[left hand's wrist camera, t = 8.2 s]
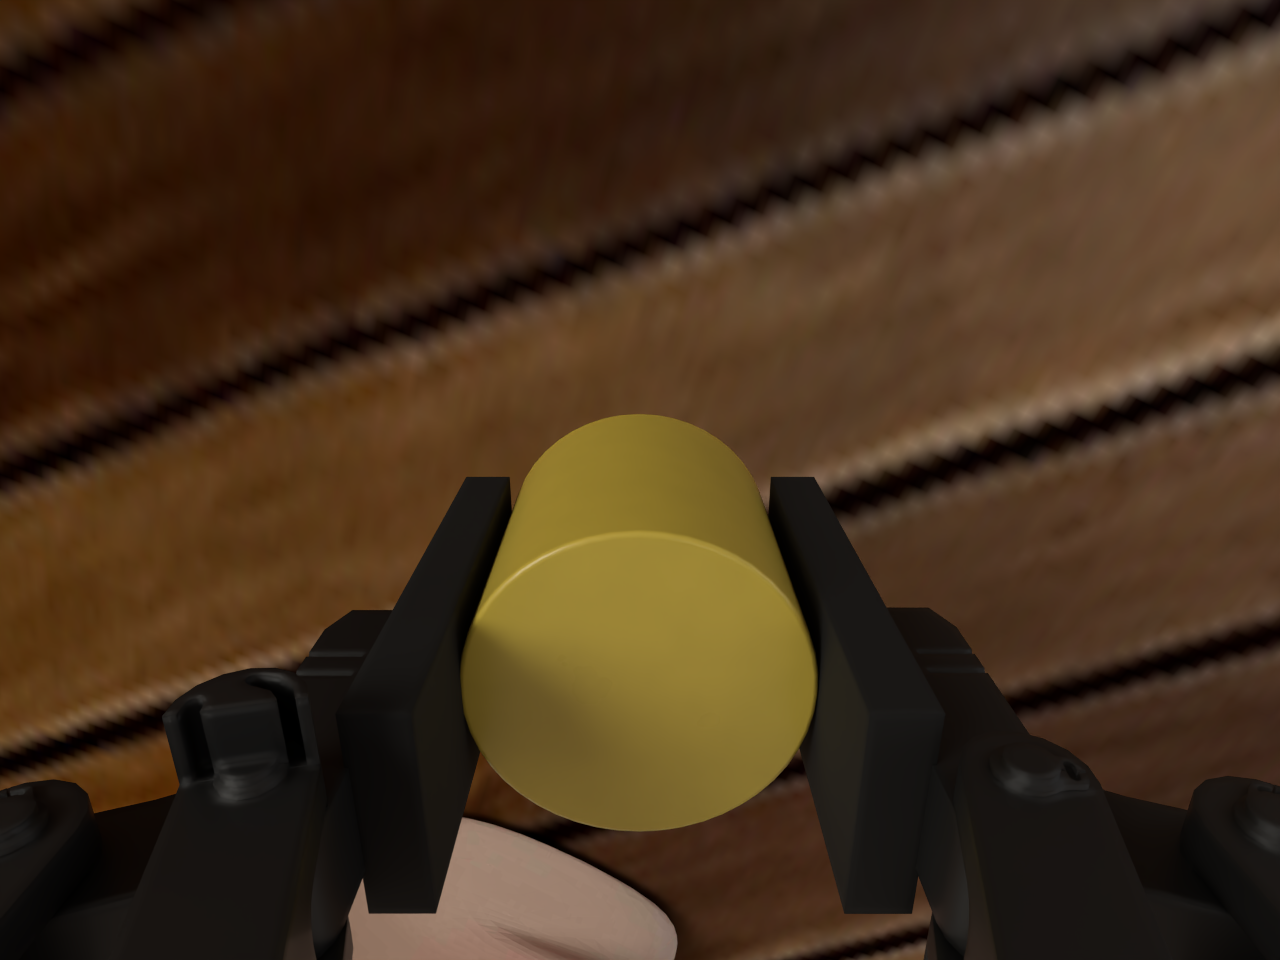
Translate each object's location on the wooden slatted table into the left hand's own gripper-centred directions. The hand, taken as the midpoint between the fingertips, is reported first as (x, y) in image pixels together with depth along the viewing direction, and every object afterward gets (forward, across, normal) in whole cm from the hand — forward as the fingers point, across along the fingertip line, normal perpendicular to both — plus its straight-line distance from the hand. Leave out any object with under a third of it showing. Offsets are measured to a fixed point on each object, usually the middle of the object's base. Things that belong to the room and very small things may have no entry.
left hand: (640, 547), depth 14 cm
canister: (0, 0, 0) cm, 0 cm away
